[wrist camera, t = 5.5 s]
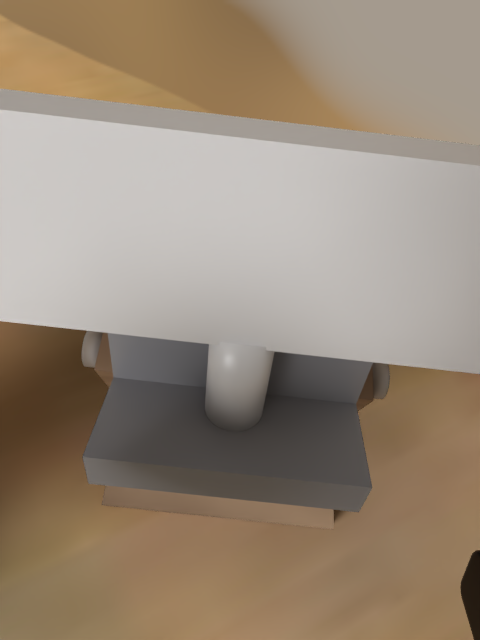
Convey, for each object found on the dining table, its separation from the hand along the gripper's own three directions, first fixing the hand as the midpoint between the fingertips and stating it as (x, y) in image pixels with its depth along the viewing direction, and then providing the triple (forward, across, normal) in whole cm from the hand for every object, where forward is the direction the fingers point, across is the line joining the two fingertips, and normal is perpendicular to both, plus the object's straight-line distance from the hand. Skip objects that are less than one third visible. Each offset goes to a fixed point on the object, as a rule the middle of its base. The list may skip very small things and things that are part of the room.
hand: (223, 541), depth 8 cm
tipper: (+8, 0, 0) cm, 8 cm away
